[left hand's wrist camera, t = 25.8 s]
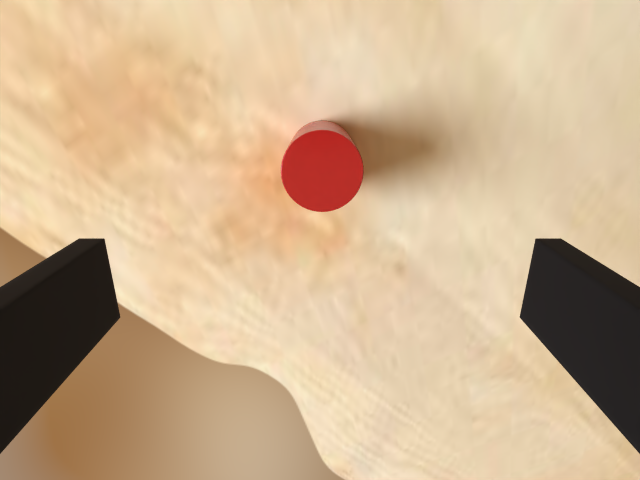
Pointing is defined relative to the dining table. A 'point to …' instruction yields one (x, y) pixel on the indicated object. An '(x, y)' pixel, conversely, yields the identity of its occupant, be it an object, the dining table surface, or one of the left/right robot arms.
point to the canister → (322, 167)
